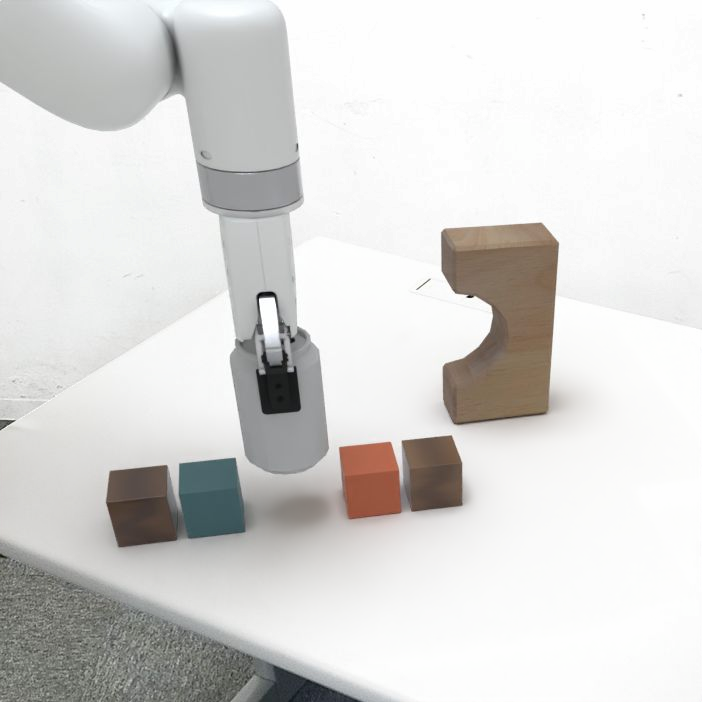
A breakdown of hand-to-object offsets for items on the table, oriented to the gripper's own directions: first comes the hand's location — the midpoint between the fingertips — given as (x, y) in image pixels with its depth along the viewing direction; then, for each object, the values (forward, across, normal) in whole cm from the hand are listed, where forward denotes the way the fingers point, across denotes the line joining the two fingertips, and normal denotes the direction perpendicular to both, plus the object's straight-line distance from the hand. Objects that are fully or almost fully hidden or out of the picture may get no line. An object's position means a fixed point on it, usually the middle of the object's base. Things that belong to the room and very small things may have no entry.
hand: (278, 386), depth 84 cm
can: (+7, 0, 0) cm, 7 cm away
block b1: (+13, 0, -13) cm, 19 cm away
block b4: (+13, 0, +13) cm, 19 cm away
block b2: (+13, 0, -7) cm, 15 cm away
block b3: (+13, 0, +7) cm, 15 cm away
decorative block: (+14, -15, +23) cm, 31 cm away
